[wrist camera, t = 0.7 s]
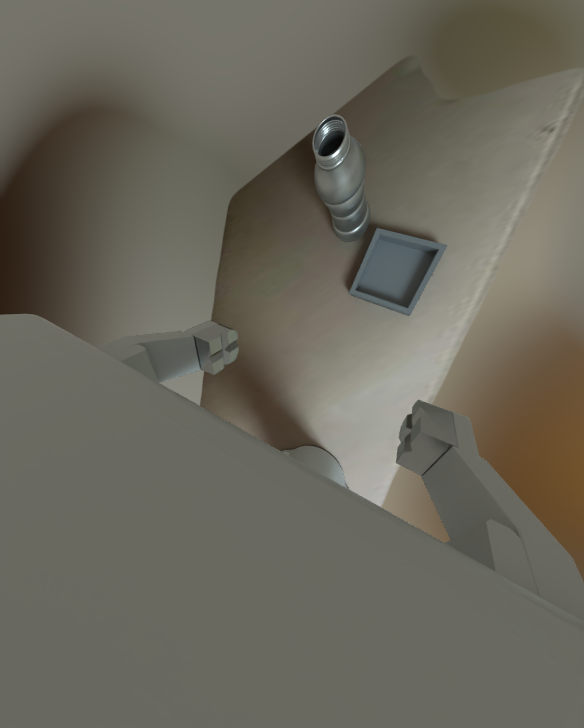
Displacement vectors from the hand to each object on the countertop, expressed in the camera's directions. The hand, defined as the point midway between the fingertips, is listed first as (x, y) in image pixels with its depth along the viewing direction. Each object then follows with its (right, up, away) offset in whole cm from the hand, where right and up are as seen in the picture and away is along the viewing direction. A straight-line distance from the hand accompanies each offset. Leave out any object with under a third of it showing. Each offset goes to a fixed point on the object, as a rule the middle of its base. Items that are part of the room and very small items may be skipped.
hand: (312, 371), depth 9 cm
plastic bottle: (+11, +26, +31) cm, 42 cm away
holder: (+17, +16, +29) cm, 38 cm away
